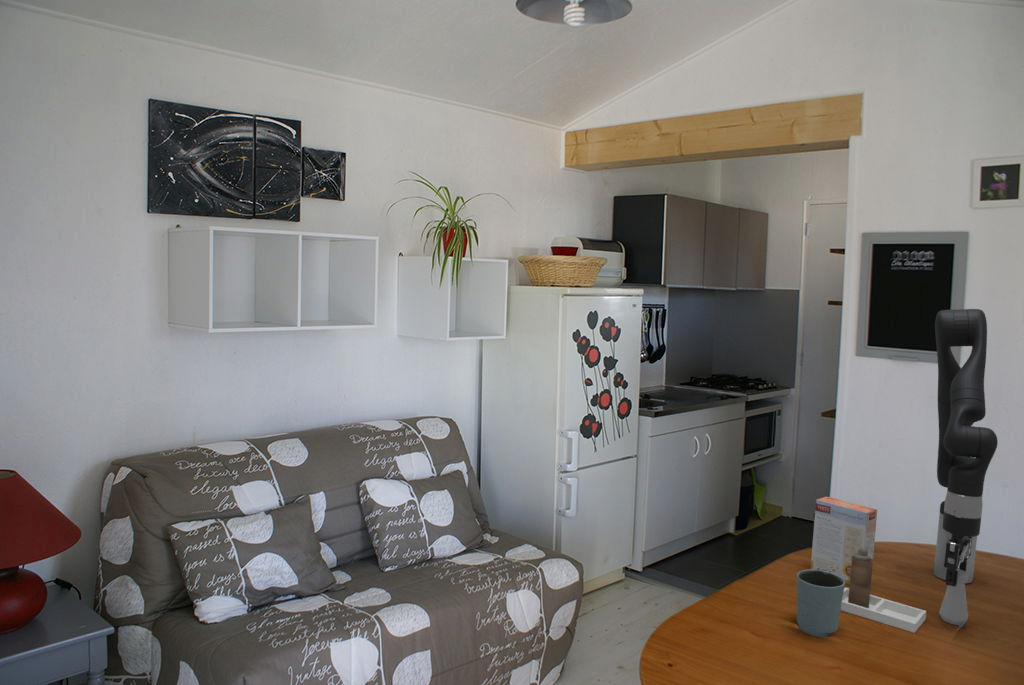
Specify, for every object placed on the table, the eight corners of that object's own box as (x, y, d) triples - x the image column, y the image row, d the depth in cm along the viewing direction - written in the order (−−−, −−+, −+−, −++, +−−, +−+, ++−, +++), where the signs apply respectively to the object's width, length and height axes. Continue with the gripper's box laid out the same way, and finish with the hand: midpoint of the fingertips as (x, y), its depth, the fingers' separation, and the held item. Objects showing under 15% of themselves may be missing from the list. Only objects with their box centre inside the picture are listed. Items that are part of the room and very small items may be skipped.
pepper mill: (851, 601, 193) (856, 542, 191) (871, 607, 190) (876, 547, 188) (845, 606, 189) (850, 547, 188) (865, 613, 186) (870, 552, 185)
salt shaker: (970, 631, 181) (976, 576, 180) (943, 628, 182) (948, 573, 181) (961, 620, 187) (966, 567, 185) (935, 617, 188) (940, 564, 186)
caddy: (844, 599, 196) (845, 587, 196) (925, 623, 184) (926, 611, 184) (830, 610, 189) (831, 598, 189) (913, 636, 177) (915, 624, 177)
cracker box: (871, 587, 204) (878, 508, 202) (860, 593, 201) (867, 512, 198) (820, 570, 215) (827, 494, 213) (809, 575, 211) (815, 498, 209)
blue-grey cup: (839, 623, 182) (843, 573, 181) (842, 643, 173) (846, 590, 171) (792, 615, 185) (796, 566, 184) (793, 634, 176) (797, 582, 175)
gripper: (952, 502, 190) (945, 568, 191) (936, 514, 179) (929, 583, 180) (987, 510, 185) (980, 577, 186) (974, 522, 174) (966, 593, 175)
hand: (955, 580), depth 183 cm, fingers open, 8 cm apart
